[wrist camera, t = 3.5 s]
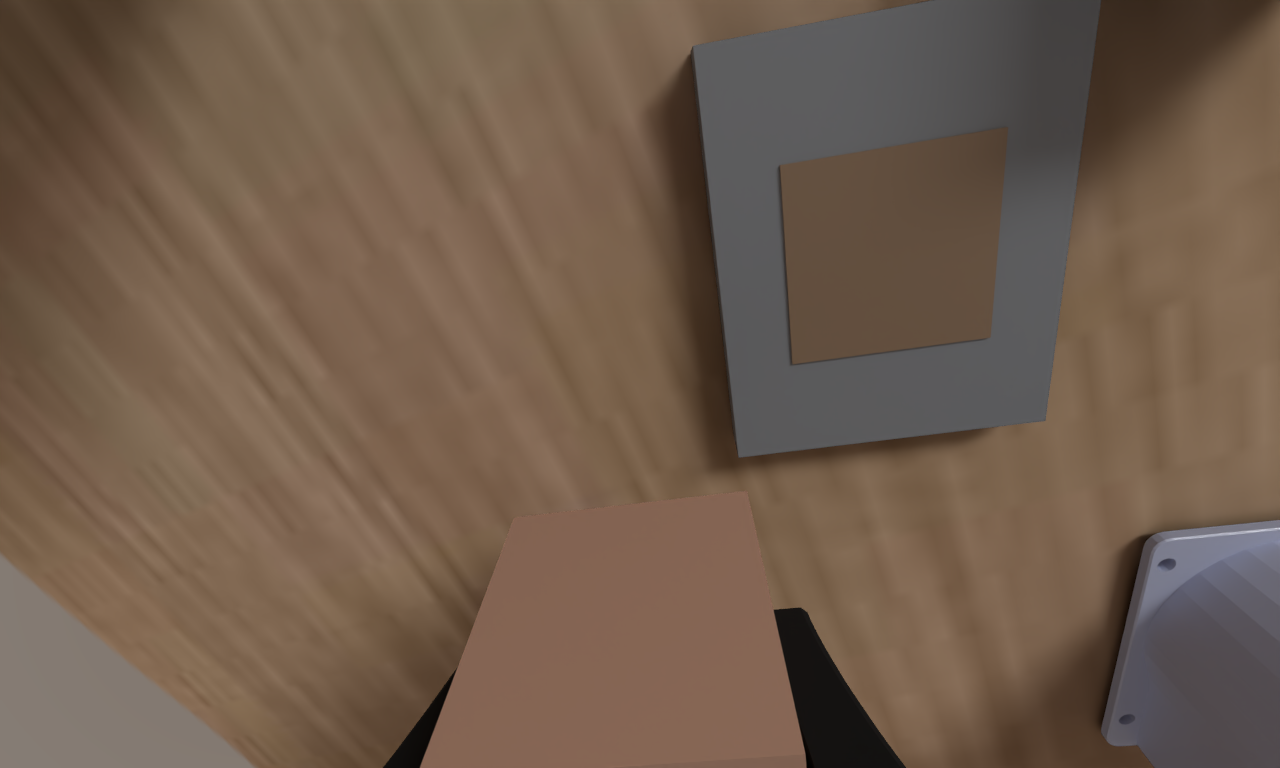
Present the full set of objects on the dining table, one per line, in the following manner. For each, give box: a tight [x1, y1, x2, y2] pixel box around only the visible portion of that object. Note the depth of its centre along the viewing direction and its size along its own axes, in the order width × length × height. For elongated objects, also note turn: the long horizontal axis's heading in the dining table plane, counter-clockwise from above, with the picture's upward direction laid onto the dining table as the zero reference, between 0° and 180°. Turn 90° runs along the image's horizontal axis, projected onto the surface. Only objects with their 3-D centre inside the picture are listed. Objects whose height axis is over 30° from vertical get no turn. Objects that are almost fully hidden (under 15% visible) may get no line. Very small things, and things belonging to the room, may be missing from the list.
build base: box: [691, 0, 1101, 458], centre depth 14 cm, size 10×8×1 cm
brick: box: [420, 491, 806, 768], centre depth 10 cm, size 4×4×5 cm
